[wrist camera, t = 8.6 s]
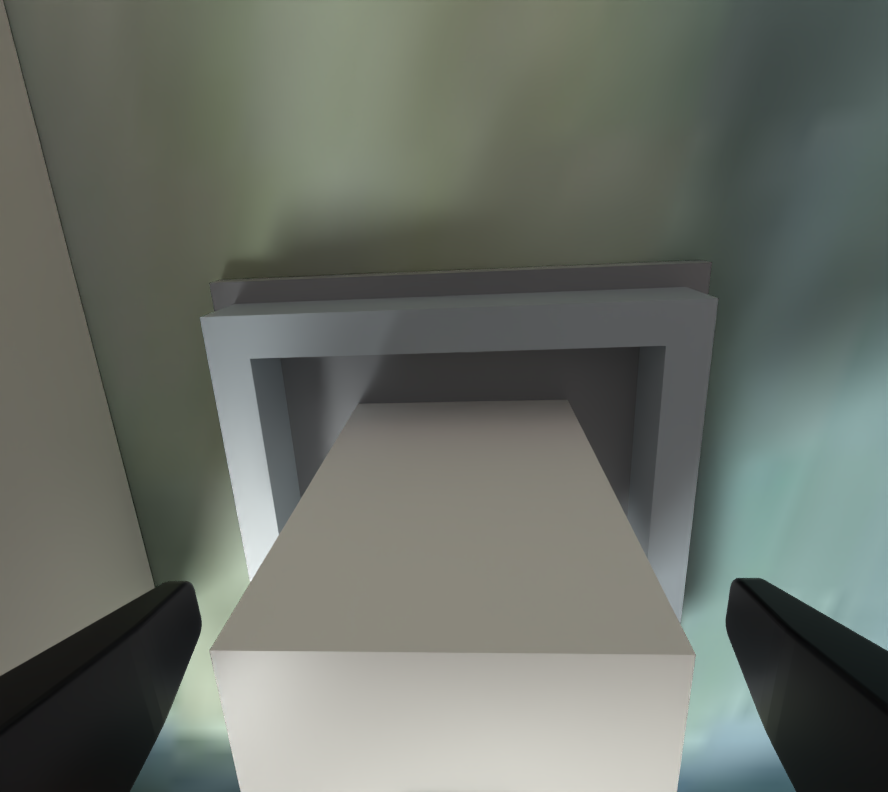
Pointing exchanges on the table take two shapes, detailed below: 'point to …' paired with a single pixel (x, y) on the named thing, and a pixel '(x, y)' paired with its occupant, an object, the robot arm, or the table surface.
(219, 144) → the table surface
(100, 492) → the wall stub
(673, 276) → the frame
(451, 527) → the block
